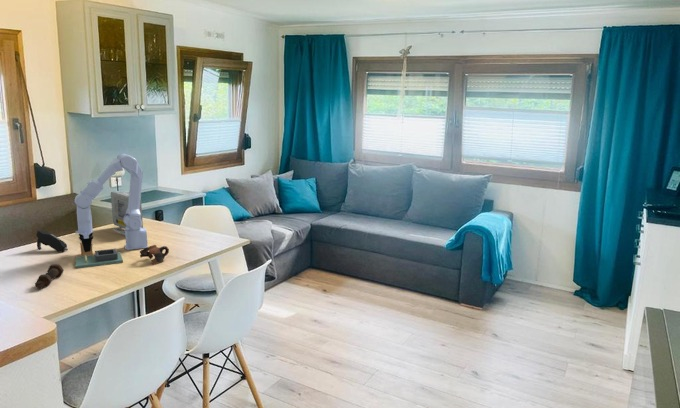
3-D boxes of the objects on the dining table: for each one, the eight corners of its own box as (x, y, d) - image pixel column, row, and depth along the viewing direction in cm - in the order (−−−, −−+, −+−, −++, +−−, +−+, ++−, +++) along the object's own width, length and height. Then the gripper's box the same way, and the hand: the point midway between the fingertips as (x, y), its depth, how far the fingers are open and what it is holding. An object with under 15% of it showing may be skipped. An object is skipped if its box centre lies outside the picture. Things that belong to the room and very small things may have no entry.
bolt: (38, 294, 187) (55, 279, 202) (49, 288, 187) (66, 272, 201) (28, 282, 186) (46, 267, 200) (39, 275, 185) (57, 261, 200)
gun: (59, 263, 232) (66, 246, 229) (30, 245, 233) (37, 227, 230) (64, 261, 235) (71, 244, 232) (35, 244, 236) (42, 226, 233)
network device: (147, 234, 262) (145, 196, 258) (131, 237, 255) (128, 199, 251) (124, 225, 278) (121, 189, 274) (108, 228, 272) (105, 192, 268)
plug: (92, 252, 231) (91, 239, 230) (92, 255, 227) (91, 242, 226) (81, 253, 229) (80, 241, 227) (81, 256, 225) (80, 243, 224)
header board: (120, 254, 229) (119, 246, 229) (122, 262, 218) (122, 254, 217) (75, 259, 221) (74, 251, 220) (76, 268, 210) (75, 260, 209)
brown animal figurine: (146, 267, 214) (138, 250, 214) (144, 271, 222) (136, 254, 222) (173, 256, 220) (165, 239, 220) (170, 259, 228) (163, 243, 228)
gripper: (74, 218, 229) (77, 246, 232) (74, 225, 217) (77, 255, 220) (91, 216, 233) (94, 245, 235) (93, 223, 220) (95, 253, 223)
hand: (87, 250), depth 228 cm, fingers closed on plug, 4 cm apart
